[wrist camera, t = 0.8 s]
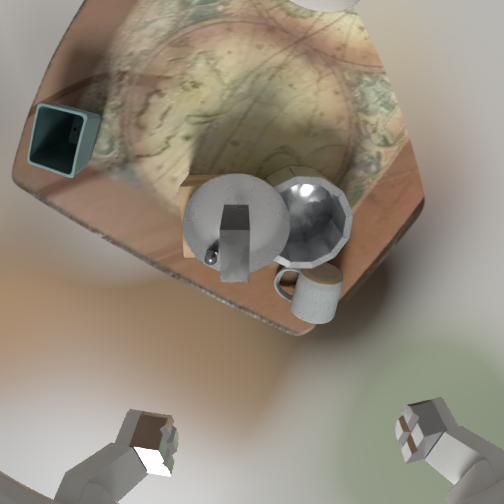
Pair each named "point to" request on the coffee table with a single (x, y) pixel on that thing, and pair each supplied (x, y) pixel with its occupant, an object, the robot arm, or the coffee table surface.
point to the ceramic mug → (314, 292)
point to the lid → (236, 225)
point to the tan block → (185, 194)
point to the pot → (311, 216)
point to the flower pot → (62, 138)
